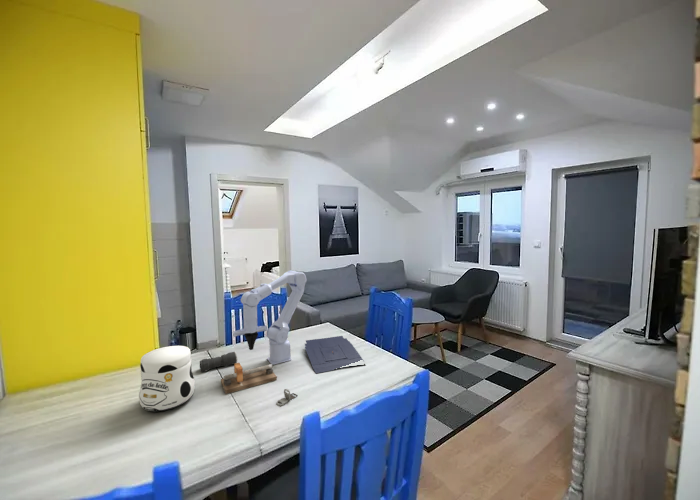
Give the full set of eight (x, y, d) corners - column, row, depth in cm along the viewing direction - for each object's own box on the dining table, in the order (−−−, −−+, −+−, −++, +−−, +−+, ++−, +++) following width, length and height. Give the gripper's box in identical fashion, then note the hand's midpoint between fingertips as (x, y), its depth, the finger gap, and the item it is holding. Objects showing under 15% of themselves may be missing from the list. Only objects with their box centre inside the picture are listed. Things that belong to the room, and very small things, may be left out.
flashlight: (201, 374, 129) (200, 362, 129) (198, 369, 134) (198, 357, 133) (237, 364, 138) (237, 353, 138) (234, 360, 142) (234, 349, 142)
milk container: (135, 422, 97) (132, 369, 96) (143, 395, 112) (141, 349, 111) (195, 407, 105) (193, 358, 104) (195, 384, 120) (193, 341, 119)
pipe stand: (269, 370, 133) (269, 359, 132) (276, 379, 124) (276, 368, 124) (221, 382, 122) (220, 370, 122) (225, 394, 114) (225, 381, 113)
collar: (239, 374, 124) (239, 362, 123) (242, 381, 119) (242, 368, 118) (234, 376, 123) (234, 363, 122) (237, 382, 118) (237, 369, 117)
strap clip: (280, 407, 106) (280, 396, 105) (275, 404, 108) (275, 393, 107) (298, 396, 113) (298, 386, 112) (292, 394, 114) (292, 383, 114)
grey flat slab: (345, 339, 166) (345, 333, 165) (366, 370, 138) (366, 363, 138) (301, 345, 158) (301, 339, 157) (315, 379, 130) (315, 371, 129)
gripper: (235, 324, 124) (236, 356, 125) (269, 318, 132) (269, 348, 133) (231, 320, 130) (232, 350, 131) (264, 314, 138) (265, 343, 139)
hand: (251, 349), depth 133 cm, fingers closed
